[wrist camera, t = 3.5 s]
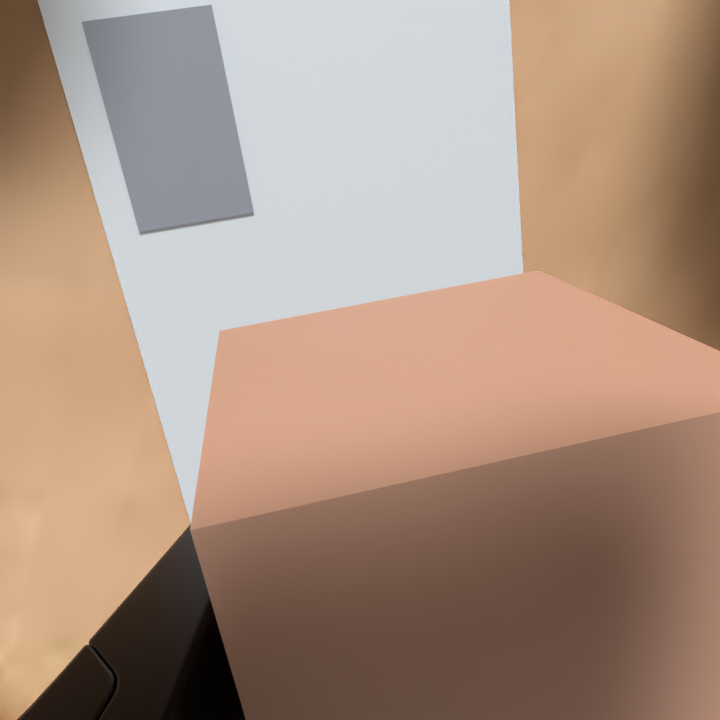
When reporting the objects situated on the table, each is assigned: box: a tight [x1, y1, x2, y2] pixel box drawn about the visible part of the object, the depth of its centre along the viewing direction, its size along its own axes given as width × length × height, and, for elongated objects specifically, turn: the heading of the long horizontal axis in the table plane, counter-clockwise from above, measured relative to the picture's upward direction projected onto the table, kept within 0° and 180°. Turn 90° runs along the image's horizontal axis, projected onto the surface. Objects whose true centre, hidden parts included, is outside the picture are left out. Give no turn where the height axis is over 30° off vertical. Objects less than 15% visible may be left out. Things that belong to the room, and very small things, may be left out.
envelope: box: [37, 0, 523, 523], centre depth 19 cm, size 12×18×1 cm, turn 9°
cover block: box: [190, 270, 720, 720], centre depth 8 cm, size 5×5×5 cm
